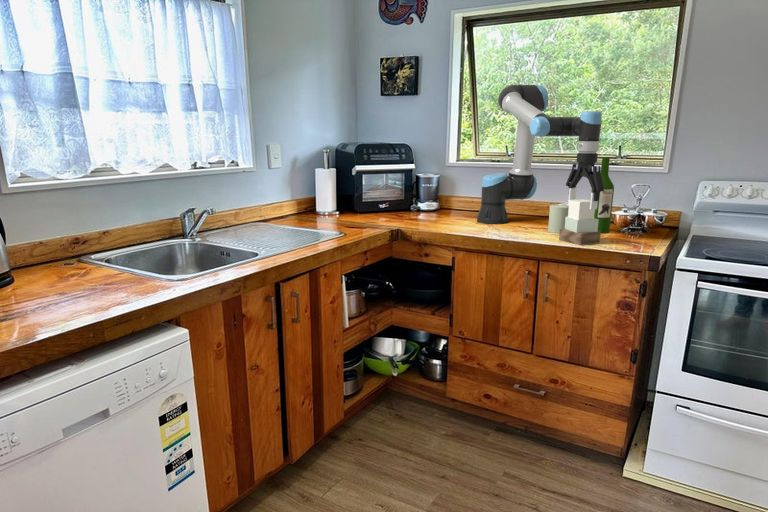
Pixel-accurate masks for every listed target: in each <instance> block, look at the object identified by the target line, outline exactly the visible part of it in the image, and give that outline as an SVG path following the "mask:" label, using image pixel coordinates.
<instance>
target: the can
mask: <svg viewBox="0 0 768 512" xmlns="http://www.w3.org/2000/svg"><path fill="white" fill-rule="evenodd" d="M568 211H569V206H568V205H559V204H551V205H549V215H548V226H547V232H548V233H550V234H559V233H560V229H565V218H566V217H568Z"/></svg>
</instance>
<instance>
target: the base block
mask: <svg viewBox="0 0 768 512" xmlns="http://www.w3.org/2000/svg"><path fill="white" fill-rule="evenodd" d="M558 241H561V242H565V243H569V244H572V245H578V246H586V245H592V244H593V243H594V244H599V242H601V231H597V232H584V233H576V232H573V231H570V230H567V229H560V233H559V236H558ZM594 244H593V245H594Z"/></svg>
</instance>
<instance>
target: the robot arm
mask: <svg viewBox="0 0 768 512" xmlns="http://www.w3.org/2000/svg"><path fill="white" fill-rule="evenodd" d="M497 103H498V106H499V108H500V109H501V110H502V111H504V112H505V113H506V114H512V115H513V116H514V117H516V118H517V119H518V121H517V128H516V136H515V137H516V138H515V145H514V153H513V160H512V161H513V162H512V163H513V164H512V168H511V169H510V170H509V171H508V175H507V173H505V172H501V173H500V172H499V173H491V174H487V175H484V176H483V177H482V179H481V180H482V182H481V198H480V199H481V200H480V201H481V202H480V208H479V211H478V212H477V216H476V222H478V223H483V224H492V225H494V224H495V225H497V224H498V225H499V224H501V225H502V224H507V223H508V222H509V217H508V212H507V208H506V201H509V200H510V201H513V200H528V199H531V198H532V197H533V196H534V195H535V192H537V187H538V182H537V179H536V177H535V176H534V172H533V171H532V169H531V168H532V162H533V154H534V145H535V140H536V139H535V138H536V137H539V138H543V137H546V138H547V137H578V144H577V153H576V162H577V163H573V164H572V166H571V171H570V173H569V175H568V178H567V181H566V183H565V186H566V187H567V188H568V200H567V201H568V202H567V203H568V204H569V200H576V196H577V185H578V184H579V182H580V181H581V179H582V178H583V177H584V178H586V179H587V181H588V182H589V184H590V187H591V191H592V190H593V191H592V192H591V193H590V200H591V201H590V209H591V210H592V209H597V204H598V200H599V193H600V192H602V191H604V187H603V182H602V177H601V166H600V165H595V164H597V163H598V158H599V156H598V155H599V154H598V152H599V147H600V140H601V139H600V138H601V137H600V135H601V129H602V123H603V122H602V118H603V117H602V116H603V115H602V111H599V110H596V111H594V110H593V111H592V110H589V111H587V110H586V111H585V110H584V111H582V112H581V113H580V116H549V115H548V114H546V113H545V112H544V111H545V110H546V109H547V107H548V105H549V94H548V91H547V89H546V88H545V87H544V86H543V85H540V84H510V85H508V86H506V87H504V88H503V89H501V91H500V92H499V95H498V98H497Z"/></svg>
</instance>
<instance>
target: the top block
mask: <svg viewBox="0 0 768 512" xmlns="http://www.w3.org/2000/svg"><path fill="white" fill-rule="evenodd" d="M598 221H599V219H595V218H594V219H586V220H577V219H573V218H570V217H566V218H565V229H567V230H570V231H573V232H576V233H584V232H597V231H598Z"/></svg>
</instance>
